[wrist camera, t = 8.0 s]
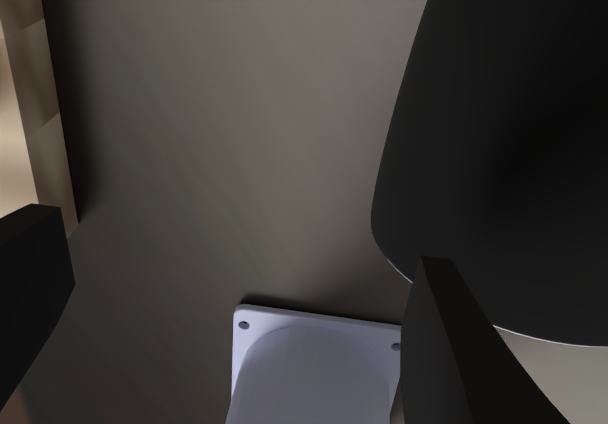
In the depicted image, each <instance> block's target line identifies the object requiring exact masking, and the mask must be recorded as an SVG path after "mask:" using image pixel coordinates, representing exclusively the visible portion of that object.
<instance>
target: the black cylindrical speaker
mask: <svg viewBox="0 0 608 424" xmlns="http://www.w3.org/2000/svg"><path fill="white" fill-rule="evenodd" d="M371 229H372V234H373V236H374V239H375V242H376V243H377V245H378V247H379V249H380V250H381V252H382V253H383V254H384V256H385V257H386V258H387V260H388V261H389V262H390V263H391V264H392V265H393V266H394V267H395V269H396V270H397V271H399V272H400V273H401V274H402V275H403V276H404V277H405V278H406V279H408V280H409V281H410V282H411V283H413V280H414V276H415V272H416V268H417V265H418V261H419V257H420V255H422V256H430V257H437V258H445V259H451V260H452V261H453V262H454V264H455V265H456V267H457V268H458V270H459V272H460V273H461V275H462V277H463V278H464V280H465V282H466V283H467V285H468V287H469V288H470V290H471V292H472V293H473V295H474V297H475V298H476V300H477V301H478V303H479V305H480V306H481V308H482V309H483V311H484V312H485V314H486V315H487V317H488V319H489V320H490V322H491V323H492V325H493V326H494V327H496V328H499V329H502V330H506V331H509V332H512V333H515V334H519V335H522V336H526V337H530V338H533V339H538V340H543V341H547V342H552V343H559V344H565V345H573V346H584V347H608V0H427V3H426V6H425V9H424V12H423V15H422V18H421V21H420V24H419V27H418V30H417V33H416V36H415V39H414V43H413V46H412V49H411V53H410V56H409V59H408V63H407V66H406V69H405V73H404V76H403V80H402V83H401V87H400V90H399V94H398V97H397V101H396V104H395V108H394V112H393V115H392V119H391V123H390V127H389V131H388V135H387V138H386V142H385V147H384V151H383V155H382V159H381V163H380V168H379V172H378V177H377V181H376V186H375V191H374V197H373V203H372V209H371Z"/></svg>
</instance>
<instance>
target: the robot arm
mask: <svg viewBox="0 0 608 424" xmlns="http://www.w3.org/2000/svg"><path fill="white" fill-rule="evenodd" d="M74 286H75V280H74V274H73V269H72V264H71V259H70V253H69V248H68V243H67V238H66V233H65V227H64V222H63V217H62V212H61V207H56V206H48V205H41V204H33V203H31V204H28V205H26V206H24V207H22V208H20V209H17V210H15V211H13V212H11V213H9V214H7V215H5V216H3V217H2V218H0V411H1V410H2V408H3V407H4V405H5V404H6V402H7V401H8V399H9V398H10V396H11V395H12V393H13V392H14V390H15V389H16V387H17V386H18V384H19V383H20V381H21V380H22V378H23V377H24V375H25V373H26V372H27V370H28V369H29V367H30V366H31V364H32V363H33V361H34V360H35V358H36V357H37V355H38V354H39V352H40V350H41V349H42V347H43V346H44V344H45V343H46V341H47V340H48V338H49V336H50V335H51V333H52V332H53V330H54V328H55V327H56V325H57V323H58V321H59V319H60V317H61V315H62V313H63V311H64V309H65V306H66V304H67V302H68V300H69V297H70V295H71V293H72V291H73V288H74ZM241 321H245V322H247V323H246V324H245V323H243V322H241ZM394 343H399V345H395V344H394ZM399 378H400V381H401V391H402V401H403V411H404V420H405V424H570V423H569V422H568V421H567V419H566V418H565V417H564V416H563V415H562V414H561V413H560V412H559V411H558V409H557V408H556V407H555V406H554V405H553V404H552V403H551V402H550V401H549V399H548V398H547V397H546V396H545V395H544V393H543V392H542V391H541V390H540V388H539V387H538V386H537V385H536V384H535V382H534V381H533V380H532V378H531V377H530V376H529V374H528V373H527V372H526V371H525V369H524V368H523V367H522V365H521V364H520V363H519V361H518V360H517V359H516V357H515V356H514V355H513V353H512V352H511V350H510V349H509V348H508V346H507V345H506V343H505V342H504V340H503V339H502V338H501V336H500V335H499V333H498V332H497V330H496V329H495V327H494V326H493V325H492V323H491V322H490V320H489V319H488V317H487V315H486V314H485V312H484V311H483V309H482V308H481V306H480V305H479V303H478V301H477V300H476V298H475V297H474V295H473V293H472V292H471V290H470V288H469V287H468V285H467V283H466V282H465V280H464V278H463V277H462V275H461V273H460V272H459V270H458V268H457V267H456V265H455V264H454V262H453V261H452V260H451V259H445V258H437V257H430V256H422V255H420V257H419V261H418V265H417V268H416V272H415V276H414V280H413V284H412V288H411V292H410V295H409V299H408V303H407V307H406V311H405V315H404V319H403V322H402V326H399V325H392V324H385V323H378V322H370V321H363V320H356V319H349V318H342V317H335V316H328V315H321V314H313V313H306V312H299V311H292V310H285V309H278V308H271V307H263V306H256V305H249V304H241V305H238V306H237V307H236V309H235V312H234V319H233V360H232V400H231V404H230V408H229V412H228V416H227V419H226V423H225V424H390V411H391V408H392V404H393V400H394V397H395V393H396V389H397V386H398V382H399Z"/></svg>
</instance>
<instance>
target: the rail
mask: <svg viewBox="0 0 608 424" xmlns="http://www.w3.org/2000/svg"><path fill="white" fill-rule="evenodd" d="M31 203H33V204H41V205H48V206H56V207H61V212H62V217H63V222H64V227H65V233H66V238H68V237H69V236H70V235H71V233H72V232H73V231H74V229H75V228H76V227H77V226H78V221H77V214H76V208H75V202H74V196H73V190H72V184H71V178H70V172H69V166H68V160H67V154H66V147H65V141H64V135H63V129H62V123H61V117H60V111H59V105H58V99H57V93H56V87H55V80H54V74H53V68H52V62H51V56H50V50H49V44H48V38H47V32H46V26H45V20H44V13H43V7H42V1H41V0H0V218H2V217H3V216H5V215H7V214H9V213H11V212H13V211H15V210H17V209H20V208H22V207H24V206H26V205H28V204H31Z"/></svg>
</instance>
